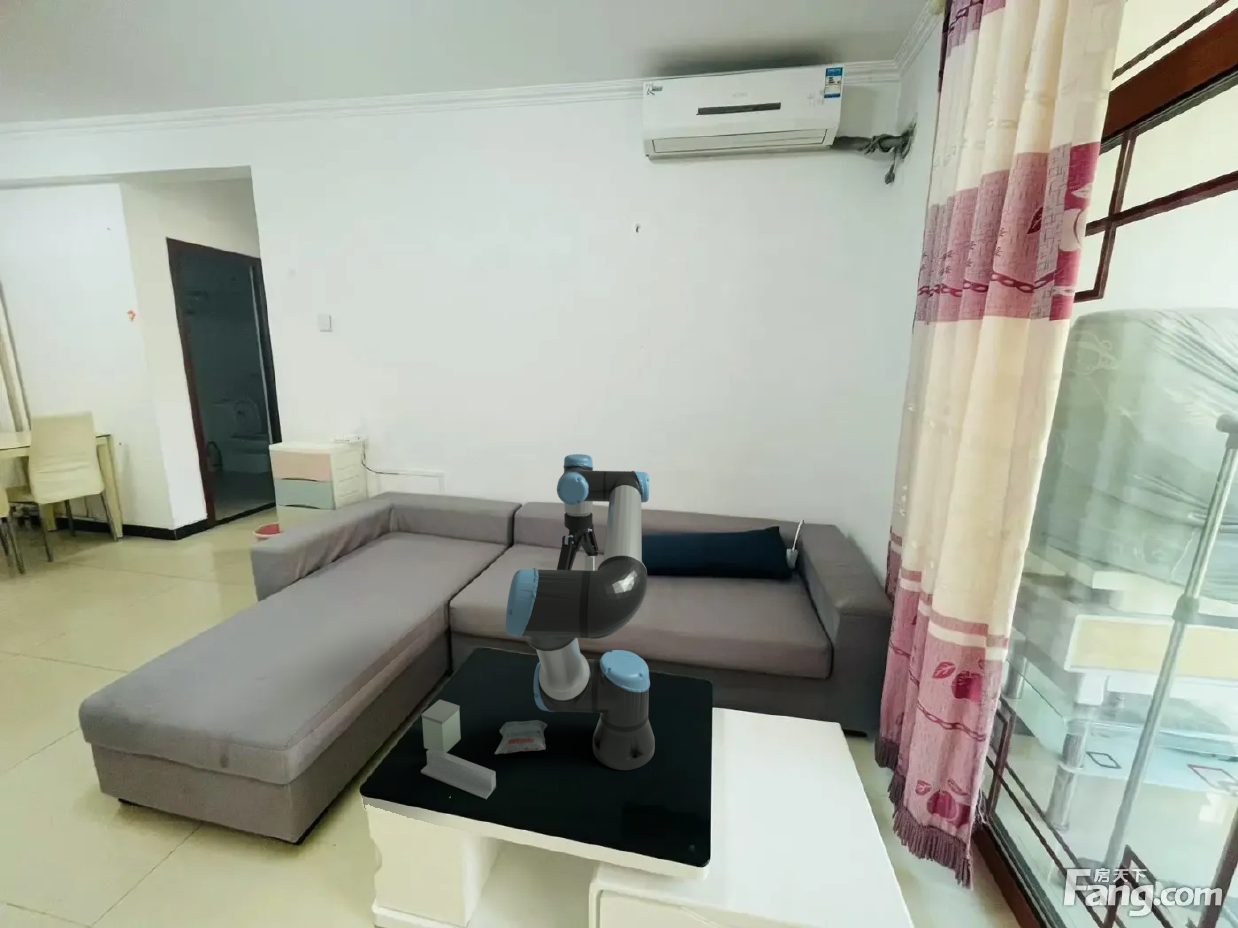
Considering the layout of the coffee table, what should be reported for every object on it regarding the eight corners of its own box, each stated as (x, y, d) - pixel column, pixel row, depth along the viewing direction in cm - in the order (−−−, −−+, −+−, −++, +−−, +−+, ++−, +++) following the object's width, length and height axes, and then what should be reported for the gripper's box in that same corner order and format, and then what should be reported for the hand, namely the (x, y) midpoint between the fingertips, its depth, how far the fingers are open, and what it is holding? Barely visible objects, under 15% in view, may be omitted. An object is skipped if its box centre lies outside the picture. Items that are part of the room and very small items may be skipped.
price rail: (497, 785, 113) (496, 770, 112) (486, 799, 109) (485, 783, 109) (433, 761, 120) (432, 746, 119) (421, 772, 116) (419, 757, 115)
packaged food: (545, 757, 121) (545, 738, 120) (495, 761, 120) (493, 742, 119) (547, 731, 129) (546, 714, 128) (500, 735, 128) (499, 717, 127)
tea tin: (461, 738, 127) (459, 705, 125) (443, 755, 121) (441, 721, 120) (441, 731, 129) (439, 699, 128) (423, 748, 124) (421, 714, 122)
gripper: (586, 500, 149) (586, 568, 153) (541, 523, 126) (543, 603, 130) (610, 502, 146) (609, 572, 150) (568, 527, 124) (569, 608, 128)
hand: (578, 587), depth 140 cm, fingers open, 13 cm apart
